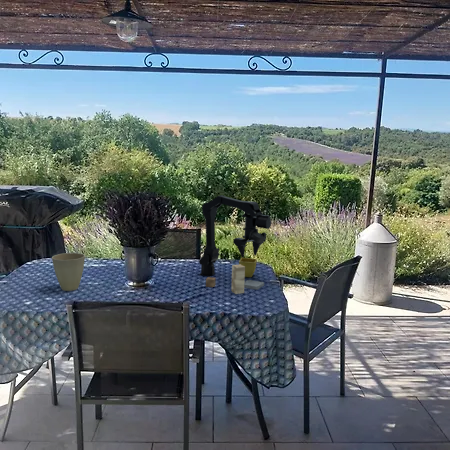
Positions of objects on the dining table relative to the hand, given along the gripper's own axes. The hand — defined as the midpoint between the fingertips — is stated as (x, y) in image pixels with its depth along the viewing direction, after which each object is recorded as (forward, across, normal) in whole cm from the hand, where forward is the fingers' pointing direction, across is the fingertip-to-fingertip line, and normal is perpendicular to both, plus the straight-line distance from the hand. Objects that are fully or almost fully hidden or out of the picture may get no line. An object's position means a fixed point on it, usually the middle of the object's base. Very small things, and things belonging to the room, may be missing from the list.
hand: (248, 256), depth 233 cm
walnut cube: (+14, -20, +7) cm, 25 cm away
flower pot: (+14, +8, +8) cm, 18 cm away
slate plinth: (+14, -3, -6) cm, 16 cm away
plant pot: (+15, -75, +46) cm, 89 cm away
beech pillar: (+14, -16, -9) cm, 23 cm away
